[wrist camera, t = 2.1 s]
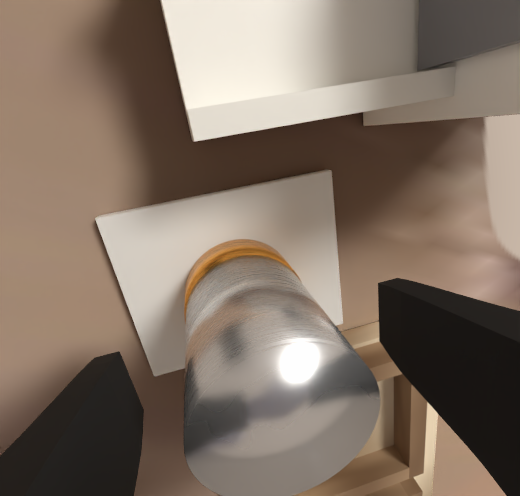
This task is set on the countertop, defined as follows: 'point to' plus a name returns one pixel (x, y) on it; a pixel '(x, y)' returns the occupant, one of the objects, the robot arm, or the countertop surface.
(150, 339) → the mat
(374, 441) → the seat board
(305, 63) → the feeder
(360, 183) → the countertop surface
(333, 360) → the sleeve
